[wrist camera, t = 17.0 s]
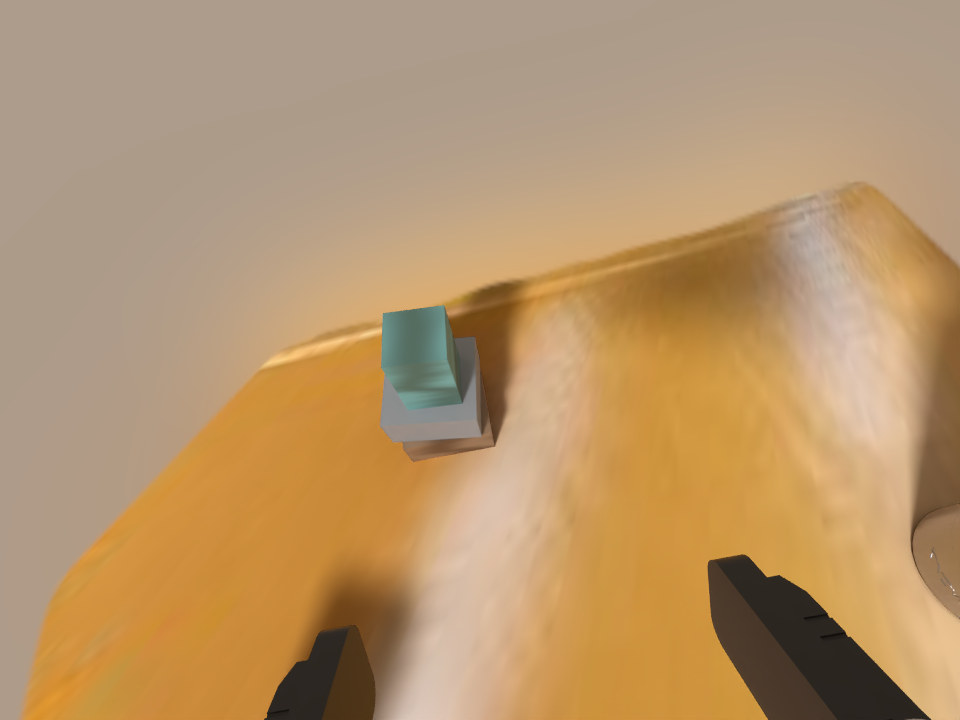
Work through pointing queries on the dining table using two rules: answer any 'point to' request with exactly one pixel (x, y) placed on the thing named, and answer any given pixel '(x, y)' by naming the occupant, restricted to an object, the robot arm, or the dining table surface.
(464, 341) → the grey block
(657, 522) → the dining table surface
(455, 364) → the teal block
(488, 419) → the walnut block
